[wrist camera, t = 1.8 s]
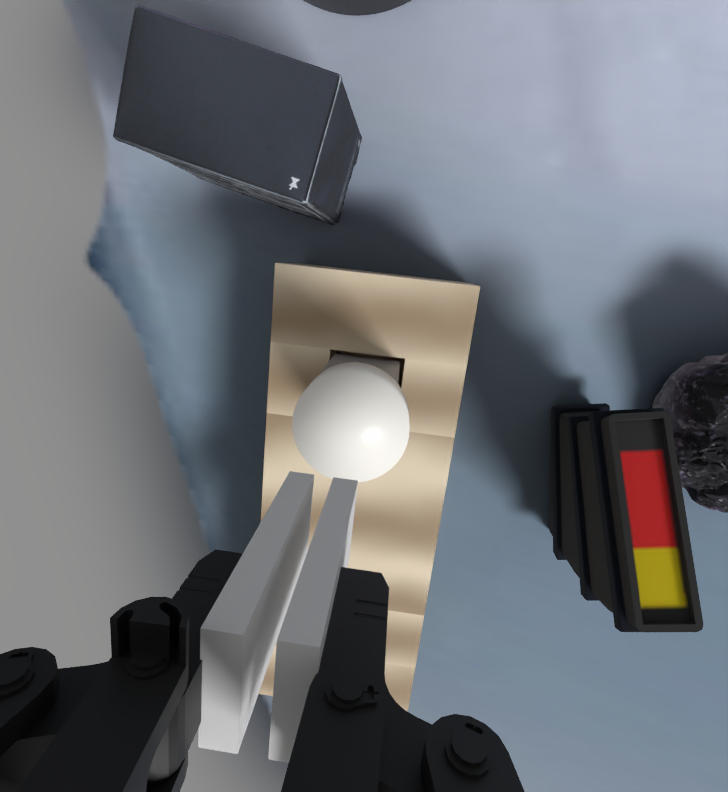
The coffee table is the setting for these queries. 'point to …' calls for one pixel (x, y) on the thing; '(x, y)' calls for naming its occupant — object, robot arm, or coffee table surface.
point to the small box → (238, 115)
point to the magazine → (623, 515)
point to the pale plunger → (353, 419)
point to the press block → (428, 417)
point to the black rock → (700, 427)
